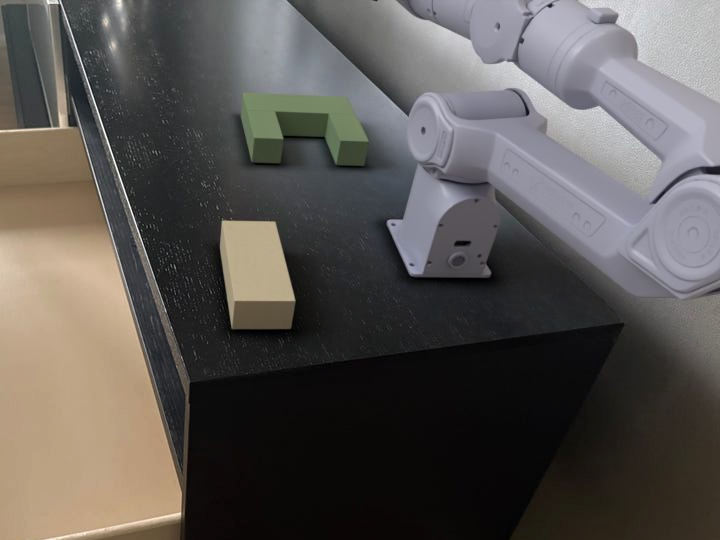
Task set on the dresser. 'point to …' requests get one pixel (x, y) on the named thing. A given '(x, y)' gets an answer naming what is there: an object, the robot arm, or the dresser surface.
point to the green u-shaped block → (302, 125)
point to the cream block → (256, 276)
